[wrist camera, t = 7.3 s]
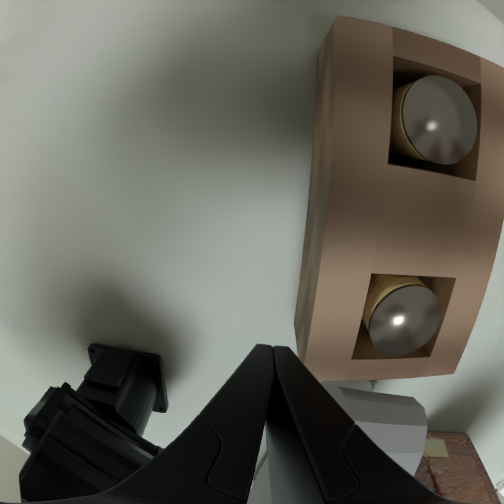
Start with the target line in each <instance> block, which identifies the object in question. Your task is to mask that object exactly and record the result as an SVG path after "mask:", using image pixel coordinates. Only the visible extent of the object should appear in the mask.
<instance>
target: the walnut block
mask: <svg viewBox="0 0 504 504" xmlns="http://www.w3.org/2000/svg"><path fill="white" fill-rule="evenodd" d="M433 75H435V76H442V77H445V78H448V79H450V80H452V81H453V82H455V83H456V84H458V85H459V86H460V87H461V88H462V89H463V90H464V92H465V93H466V94H467V96H468V97H469V99H470V101H471V102H472V105H473V107H474V110H475V114H476V118H477V135H476V139H475V142H474V145H473V147H472V149H471V151H470V152H469V153H468V155H467V156H466V157H465V158H463V159H462V160H460V161H459V162H456V163H453V164H438V163H434V162H431V161H427V160H425V165H424V168H418V167H413V166H407V165H401V164H395V163H389V162H388V154H389V143H390V129H391V113H392V89H393V86H397V87H401V86H404V85H407V84H410V83H412V82H415V81H417V80H419V79H421V78H423V77H427V76H433ZM503 219H504V68H503V67H501V66H499V65H497V64H495V63H493V62H491V61H488V60H486V59H484V58H482V57H479V56H477V55H475V54H472V53H470V52H467V51H465V50H462V49H460V48H457V47H455V46H452V45H449V44H446V43H444V42H441V41H438V40H435V39H432V38H429V37H426V36H423V35H419V34H416V33H413V32H409V31H406V30H402V29H399V28H395V27H391V26H387V25H383V24H379V23H374V22H370V21H365V20H360V19H355V18H350V17H344V16H338V17H337V18H336V20H335V22H334V24H333V25H332V27H331V29H330V30H329V32H328V34H327V36H326V37H325V39H324V41H323V43H322V44H321V46H320V48H319V50H318V66H317V88H316V106H315V123H314V137H313V151H312V164H311V176H310V188H309V199H308V209H307V219H306V229H305V239H304V248H303V257H302V265H301V274H300V282H299V290H298V298H297V305H296V313H295V320H294V327H295V335H296V343H297V351H298V358H299V359H300V360H301V362H302V363H303V364H304V365H305V366H306V367H307V368H308V370H309V371H310V372H311V373H312V374H313V375H314V376H315V378H316V379H317V380H318V381H351V380H382V379H401V378H415V377H427V376H437V375H447V374H454V372H455V370H456V367H457V365H458V363H459V361H460V358H461V356H462V354H463V351H464V349H465V347H466V344H467V342H468V339H469V337H470V334H471V332H472V329H473V326H474V324H475V321H476V318H477V315H478V312H479V309H480V307H481V304H482V301H483V297H484V294H485V291H486V288H487V285H488V281H489V278H490V274H491V271H492V267H493V263H494V259H495V256H496V252H497V247H498V243H499V239H500V234H501V229H502V224H503ZM371 273H377V274H395V275H414V276H417V277H418V278H419V279H420V281H421V282H422V283H423V284H424V285H425V286H426V287H427V288H429V289H430V290H431V291H432V292H433V293H434V294H435V295H436V296H437V297H438V299H439V301H440V305H441V319H440V322H439V325H438V327H437V329H436V331H435V333H434V334H433V336H432V337H431V338H430V339H429V340H428V341H427V342H426V343H425V344H424V345H423V346H421V347H420V348H419V349H417V350H415V351H413V352H411V353H408V354H404V355H398V356H394V355H387V354H384V353H382V352H381V351H379V350H378V349H377V348H376V347H375V346H374V344H373V342H372V340H371V338H370V335H369V332H368V330H367V327H366V325H365V323H364V321H363V319H362V314H363V310H364V306H365V301H366V297H367V292H368V287H369V282H370V277H371Z"/></svg>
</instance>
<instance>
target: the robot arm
mask: <svg viewBox="0 0 504 504" xmlns="http://www.w3.org/2000/svg"><path fill="white" fill-rule="evenodd" d="M93 349H94V350H93ZM88 353H89V357H90V361H91V367H90V368H89V370H88V371H87V373H86V374H85V375H84V380H83V382H82V383H81V385H80V386H79V388H78V389H77V391H75V390H74V389H72V388H71V386H70V385H69V384H68V383H67V382H64V384H63V385H62V386H61V388H60V387H57V388H56V387H51V386H50V388H49V389H48V390H47V392H46V393H45V394H44V396H43V397H42V398H41V400H40V401H39V402H38V403H37V404H36V406H35V407H34V408H33V409H32V410H31V411H30V412H29V413H28V415H27V416H26V417H25V419H24V425H25V429H26V433H25V434H24V436H25V437H26V439H25V440H24V442H23V444H22V446H23V447H24V448H25V449H26V450H28V451H29V452H30V453H31V454H30V455H29V457H28V458H27V460H26V462H25V463H24V465H23V467H22V469H21V471H20V474H19V484H20V494H21V503H5V502H0V504H247V501H248V497H249V493H250V489H251V485H252V480H253V476H254V472H255V467H256V463H257V458H258V454H259V449H260V445H261V440H262V435H263V431H264V426H265V430H266V442H267V454H268V466H269V477H270V489H271V501H272V504H476V503H465V502H456V501H452V500H448V499H446V498H443V497H441V496H439V495H437V494H436V493H434V492H433V491H431V490H430V489H428V488H427V487H426V486H425V485H423V484H422V483H421V482H420V481H418V480H417V479H416V478H415V477H413V476H412V475H411V474H410V473H409V472H407V471H406V470H405V469H404V468H402V467H401V466H400V465H399V464H398V463H396V462H395V461H394V460H393V459H392V458H391V457H389V456H388V455H387V454H386V453H385V452H384V451H383V450H382V449H381V448H379V447H378V446H377V445H376V444H375V443H374V442H373V441H372V439H371V438H370V437H369V436H368V435H367V434H366V433H365V432H364V431H363V430H362V429H361V428H360V427H359V426H358V425H357V424H356V423H355V421H354V420H353V419H352V418H351V417H350V416H349V415H348V414H347V413H346V411H345V410H344V409H343V408H342V407H341V406H340V405H339V404H338V402H337V401H336V400H335V399H334V398H333V397H332V396H331V395H330V393H329V392H328V391H327V390H326V389H325V388H324V387H323V386H322V384H321V383H320V382H319V381H318V380H317V379H316V378H315V376H314V375H313V374H312V373H311V372H310V371H309V370H308V368H307V367H306V366H305V365H304V364H303V363H302V362H301V360H300V359H299V358H298V357H297V356H296V355H295V353H294V352H293V351H292V350H291V349H290V348H289V347H287V346H273V347H272V346H271V345H265V344H256V345H255V347H254V348H253V349H252V350H251V352H250V353H249V354H248V355H247V357H246V358H245V359H244V360H243V362H242V363H241V364H240V365H239V367H238V368H237V369H236V370H235V371H234V373H233V374H232V375H231V376H230V378H229V379H228V380H227V381H226V382H225V384H224V385H223V386H222V387H221V388H220V390H219V391H218V392H217V393H216V394H215V396H214V397H213V398H212V399H211V400H210V402H209V403H208V404H207V405H206V406H205V407H204V409H203V410H202V411H201V412H200V414H199V415H197V417H196V418H195V419H194V420H193V421H192V422H191V424H190V425H189V426H188V427H187V428H186V429H185V430H184V431H183V432H182V433H181V434H180V435H179V436H178V437H177V438H176V439H175V440H174V441H173V442H172V443H170V444H169V445H168V446H167V447H166V448H165V449H163V448H161V447H159V446H156V445H154V444H152V443H150V442H149V441H147V440H145V439H144V438H142V436H143V433H144V430H145V428H146V425H147V423H148V420H149V417H150V415H151V412H152V411H154V412H160V413H165V412H167V409H168V405H167V398H166V392H165V385H164V378H163V370H162V362H161V358H160V357H159V356H158V355H156V354H151V353H144V352H138V351H132V350H126V349H120V348H115V347H109V346H104V345H99V344H94V343H92V344H90V345H89V346H88ZM153 360H155V361H156V362H155V361H153ZM161 407H162V408H161ZM355 424H356V425H355Z"/></svg>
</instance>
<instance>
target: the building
mask: <svg viewBox="0 0 504 504" xmlns="http://www.w3.org/2000/svg"><path fill="white" fill-rule="evenodd" d="M496 487H497V489H498V490H497V491H496V493H497V495H498V497H499V500H500V502H501V504H504V479H503V480H502V481H501V482H500V483H499V484H497V485H496Z"/></svg>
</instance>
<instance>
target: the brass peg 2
mask: <svg viewBox="0 0 504 504" xmlns="http://www.w3.org/2000/svg"><path fill="white" fill-rule="evenodd" d="M362 319H363V321H364V323H365V325H366V327H367V330H368V332H369V335H370V338H371V340H372V342H373V344H374V346H375V347H376V348H377V349H378V350H379V351H381V352H382V353H384V354H387V355H394V356H398V355H404V354H408V353H411V352H413V351H415V350H417V349H419V348H420V347H421V346H423V345H424V344H425V343H426V342H427V341H428V340H429V339H430V338H431V337H432V336H433V334H434V333H435V331H436V329H437V327H438V325H439V322H440V319H441V305H440V301H439V299H438V297H437V296H436V295H435V294H434V293H433V292H432V291H431V290H430V289H429V288H427V287H426V286H425V285H424V284H423V283H422V282H421V281H420V279H419V278H418V277H417V276H414V275H395V274H377V273H371V277H370V282H369V287H368V292H367V297H366V301H365V306H364V310H363V314H362Z"/></svg>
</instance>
